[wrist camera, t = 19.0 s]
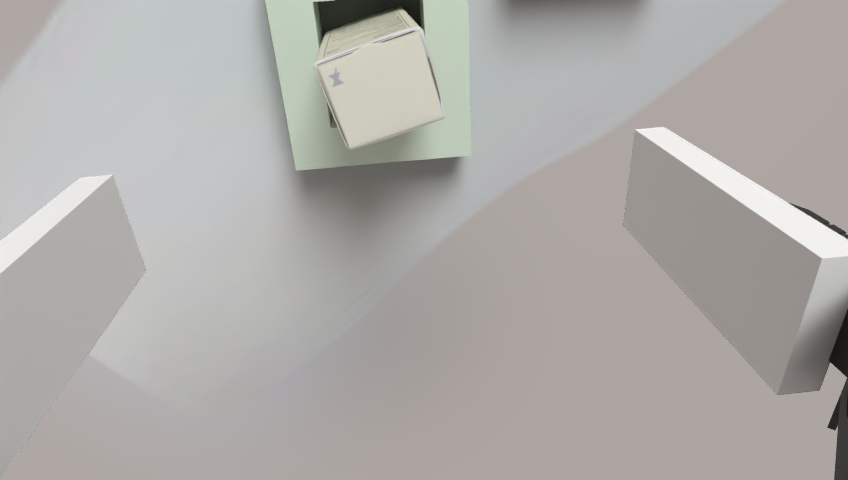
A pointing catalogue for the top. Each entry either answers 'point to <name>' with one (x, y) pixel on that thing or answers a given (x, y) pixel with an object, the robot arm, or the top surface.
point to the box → (378, 77)
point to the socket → (311, 114)
